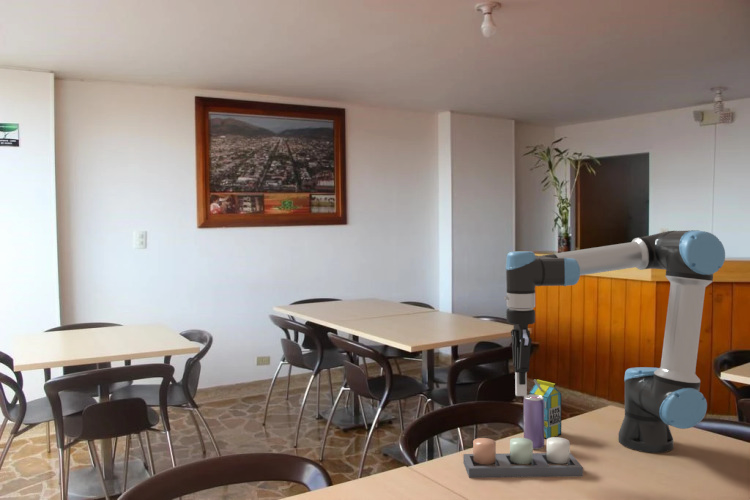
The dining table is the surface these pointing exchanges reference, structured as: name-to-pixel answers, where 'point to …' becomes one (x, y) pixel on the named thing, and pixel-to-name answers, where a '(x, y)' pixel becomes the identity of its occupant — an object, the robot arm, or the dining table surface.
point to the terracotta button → (484, 451)
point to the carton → (549, 407)
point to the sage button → (521, 450)
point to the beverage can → (534, 420)
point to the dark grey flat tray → (522, 467)
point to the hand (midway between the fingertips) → (521, 395)
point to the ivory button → (558, 450)
